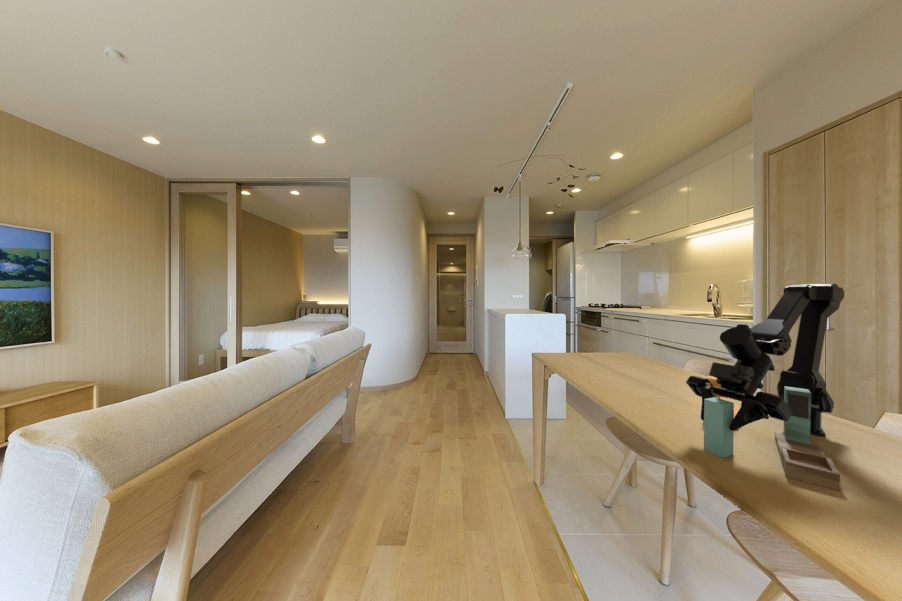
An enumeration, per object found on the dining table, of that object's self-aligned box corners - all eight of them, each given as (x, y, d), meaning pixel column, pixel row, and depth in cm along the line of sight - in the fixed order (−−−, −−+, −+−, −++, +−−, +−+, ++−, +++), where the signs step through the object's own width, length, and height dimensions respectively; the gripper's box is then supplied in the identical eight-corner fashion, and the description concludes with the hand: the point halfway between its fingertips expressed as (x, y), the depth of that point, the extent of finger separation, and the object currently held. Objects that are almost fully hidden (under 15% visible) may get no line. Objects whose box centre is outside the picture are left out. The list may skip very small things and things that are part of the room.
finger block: (714, 446, 77) (714, 397, 76) (733, 454, 73) (734, 402, 73) (703, 449, 76) (704, 399, 75) (722, 457, 72) (723, 404, 71)
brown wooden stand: (774, 437, 81) (775, 384, 80) (816, 446, 76) (817, 390, 76) (785, 476, 64) (786, 410, 64) (839, 490, 60) (841, 419, 59)
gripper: (691, 344, 84) (659, 390, 81) (784, 358, 66) (748, 418, 63) (711, 371, 87) (682, 417, 83) (806, 391, 69) (773, 451, 66)
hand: (715, 424), depth 74 cm, fingers open, 6 cm apart
